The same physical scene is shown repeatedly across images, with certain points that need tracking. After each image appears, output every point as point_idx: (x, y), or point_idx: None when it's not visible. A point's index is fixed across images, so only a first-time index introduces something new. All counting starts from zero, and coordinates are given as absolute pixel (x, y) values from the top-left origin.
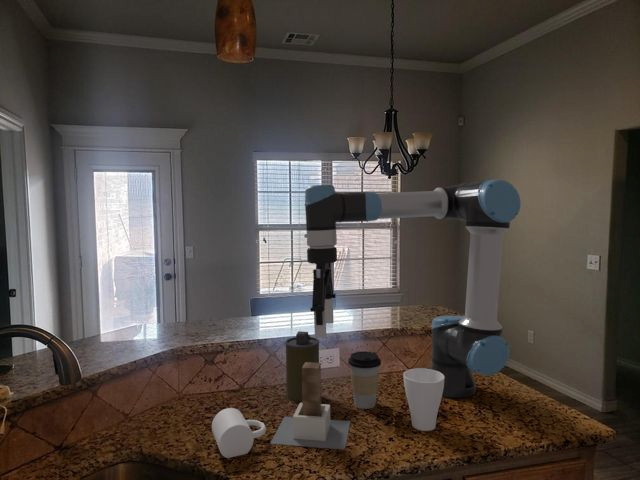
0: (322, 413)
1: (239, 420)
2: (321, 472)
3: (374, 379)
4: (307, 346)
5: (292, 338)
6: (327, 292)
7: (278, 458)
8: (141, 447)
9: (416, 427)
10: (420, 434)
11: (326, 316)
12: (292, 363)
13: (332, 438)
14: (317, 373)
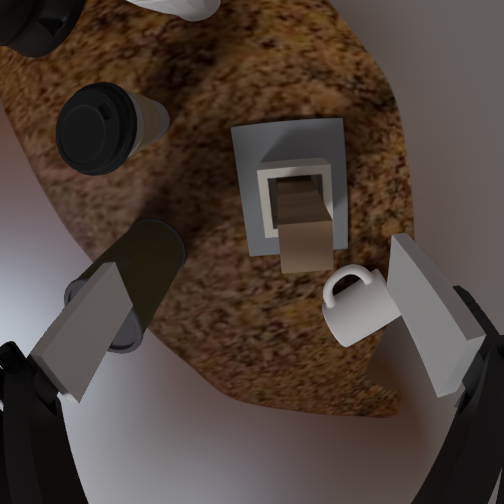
0: (268, 181)
1: (379, 310)
2: (401, 148)
3: (132, 93)
4: None
5: None
6: (46, 423)
7: (376, 222)
8: (359, 376)
9: (216, 9)
10: (234, 2)
11: (112, 313)
12: (156, 306)
13: (310, 146)
14: (330, 216)
